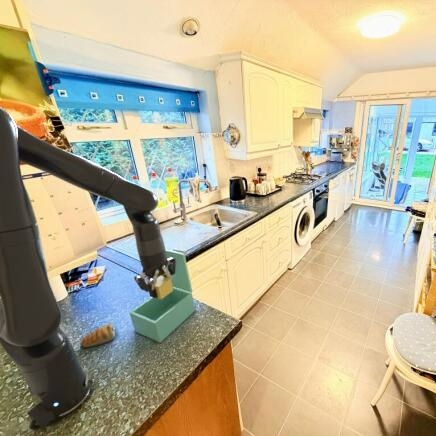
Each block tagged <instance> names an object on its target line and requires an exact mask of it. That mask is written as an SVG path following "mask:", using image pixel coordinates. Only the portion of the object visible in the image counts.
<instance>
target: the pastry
mask: <svg viewBox="0 0 436 436" xmlns="http://www.w3.org/2000/svg"><path fill="white" fill-rule="evenodd" d="M115 330H116V328H115V326H114V325H113V324H112V323H109V324H106V325H103V326H100V327H98V328H97V329H95V330H93V331H92V332H89V333H88V334H87V335H85V336H84V337H82V339H81V341H80V346H82V347H84V348H89V347H93V346H94V347H95V346H98V345H99V346H100V345H102V344H105V343H107V342H110V341H112V340H113V339H115V337H116V332H115Z"/></svg>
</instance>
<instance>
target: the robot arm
mask: <svg viewBox="0 0 436 436" xmlns="http://www.w3.org/2000/svg"><path fill="white" fill-rule="evenodd" d="M21 163H22V164H25V165H28V166H30V167H32V168H34V169H37V170H40V171H41V172H44V173H46V174H49V175H51V176H53V177H55V178H57V179H58V180H59V179H60V180H61V181H64V182H66V183H68V184H70V185H72V186H74V187H76V188H79V189H81V190H83V191H86V192H88V193H91V194H93V195H95V196H98V197H101V198H103V199H106V200H110V201H112V202H116V203H117V204H119V205H121V206H123V210H124V211H125V214H126V216H127V218H128V220H129V222H130V224H131V226H132V231H133V234H134V235H133V236H134V239H135V246H136V251H137V254H138V258H139V260H140V261H139V262H140V265H141V267H142V273H140V274H139V275H136V276H134V277H133V279H134V281H135V282H136V285H137V286H138V287H139V289H140V290H141V291H144V292H146V293H148V294H149V297H150V298H151V297H153V298H157V297H158V295H157V292H156V288H155V284H156V282H157V278H158V277H159V276H160V275H161V276H164V277H167V278H170V279H171V277H172V275H174V274H175V269H176V259H175V258H171V257H169V258H168V259H167V254H166V250H165V249H166V245H165V241H164V238H163V235H162V232H161V226H160V222H159V220H158V218H157V217H156V216H154V214H153V213H152V212H154V211H155V210H156V209H157V208H158V204H159V199H158V197H157V195H156V194H155V193H154V192H153V191H151V190H150V189H148V188H146V187H143V186H141V185H139V184H137V183H134V182H133V181H130V180H127V179H125V178H123V177H122V176H121V175H118V174H117V173H115V172H113V171H111V170H109V169H107V168H106V167H103V166H101V165H99V164H97V163H95V162H92V161H91V160H89V159H86V158H84V157H82V156H79V155H77V154H75V153H72V152H70V151H67V150H64V149H63V148H60V147H58V146H55V145H53V144H52V143H49V142H47V141H45V140H44V139H41V138H39V137H37V136H36V135H35V134H32V133H31V132H29V131H28V130H26V129H24V128H22V127H21V126H20V125H18V124H16V122H15V120H14V118H13V117H12V115H11V114H10V113H9V112H8V111H7V110H6V109H5V108H3V107H2V106H0V301H1V305H0V345H1V347H2V348H3V350H4V352H5V353H6V355H7V356H8V357H9V359H10V360H11V361H12V363H14V365H15V366H16V367H17V369H18V371H19V372H20V374H21V375H22V377H23V379H24V380H25V382H26V384H27V385H28V388H27V390H28V392H29V394H30V395H31V397H32V398H33V400H34V402H35V403H36V405H35V406H34V407H32V408H31V409H30V410H28V411H27V416H28V417H29V418H30V420H31V423H30V425H29V428H30V430H31V431H35V430H38V429H43V428H45V427H46V426H47V425H48V424H49V423H50V422H54V423H55V422H57V421H58V420H59V419H61V418H63V417H65V416H68V415H69V414H71V413H73V412H74V411H76V410H78V408H80V407H81V406H82V405H83V403H85V401H86V400H87V399H88V398H89V396H90V394H91V391H92V385H91V382H90V381H89V373H88V372H86V373H85V371H84V368H83V367H82V364H81V362H80V360H79V358H78V356H77V354H76V351H75V350H74V349H75V348H74V347H73V345H72V343H71V340H70V338H69V337H68V335H67V333H66V332H65V331H64V330H63V328H61V322H62V318H63V315H62V311H61V307H60V305H59V303H58V301H57V298H56V296H55V293H54V291H53V289H52V286H51V284H50V280H49V275H48V269H47V263H46V258H45V254H44V249H43V243H42V237H41V233H40V228H39V224H38V220H37V217H36V214H35V209H34V207H33V204H32V201H31V198H30V196H29V192H28V190H27V187H26V185H25V182H24V180H23V175H22V169H21ZM167 265H168V270H167ZM171 268H172V270H171ZM171 281H172V280H171Z"/></svg>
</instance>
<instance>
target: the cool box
mask: <svg viewBox="0 0 436 436" xmlns="http://www.w3.org/2000/svg"><path fill="white" fill-rule="evenodd" d="M195 311H196V308H195V303H194V297H193V292H191V293H190V292H187V291H184V290H181V289H178V288H175V287H173V291H172V292H171V293H169V294H168V295H167V296H165V297H164V298H162V299H159V298H153V297H151V296H150V297H149V298H148V299H147V300H145V301H144V302H142V303H141V304H139V305H138V306H137V307H135V308H134V309H132V310H130V312H129V316H130V320H131V322H132V326H133V329H134V332H136V333H138V334H140V335H142V336H144V337H147V338H148V339H151V340H153V341H155V342H158V343H161V342H163V341H164V340H165V339H166V338H167V337H168V336H169V335H170V334H172V333H173V332H174V331H175V330H176V329H177V328H178V327H179V326H180V325H181V324H182V323H184V322H185V321H186V320H187V319H188V318H189V317H190V316H191V315H192V314H193V313H195Z"/></svg>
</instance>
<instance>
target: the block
mask: <svg viewBox="0 0 436 436" xmlns="http://www.w3.org/2000/svg"><path fill="white" fill-rule="evenodd" d="M155 288H156V292H157V295H158V297H157V298H159V299H162V298H164V297H165V296H167V295H168V294H169V293H171V292H172V291H173V286H172V281H171V279H170V278H167V277H164V276H163V275H160V276H159V277H158V278H157V282H156V284H155Z"/></svg>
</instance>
